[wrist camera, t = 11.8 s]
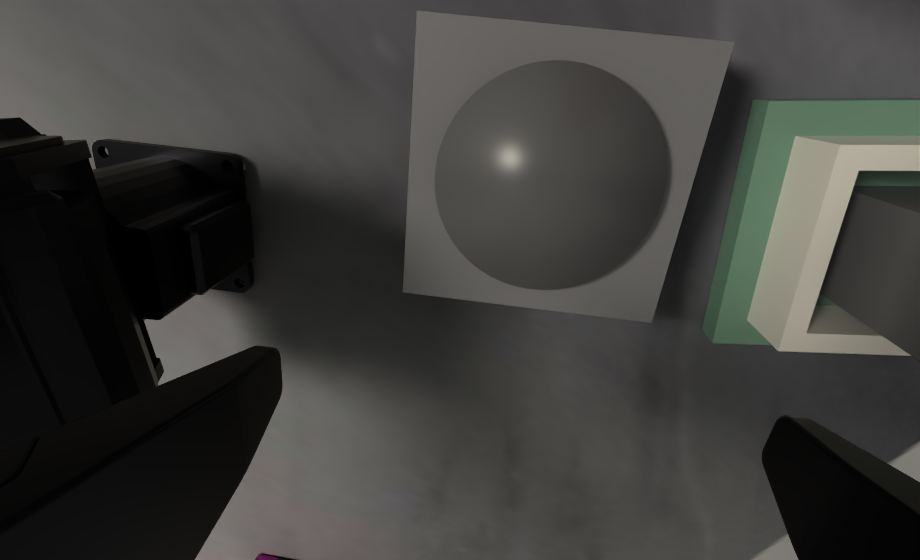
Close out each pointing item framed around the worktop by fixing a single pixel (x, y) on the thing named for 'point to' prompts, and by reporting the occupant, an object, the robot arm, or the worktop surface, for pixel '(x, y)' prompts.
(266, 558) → the candy bar box
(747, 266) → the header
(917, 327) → the dark grey tall block
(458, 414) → the worktop surface
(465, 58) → the grey domed square block
